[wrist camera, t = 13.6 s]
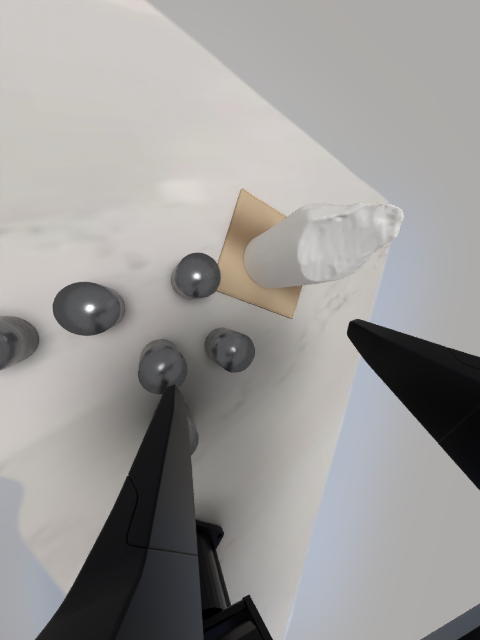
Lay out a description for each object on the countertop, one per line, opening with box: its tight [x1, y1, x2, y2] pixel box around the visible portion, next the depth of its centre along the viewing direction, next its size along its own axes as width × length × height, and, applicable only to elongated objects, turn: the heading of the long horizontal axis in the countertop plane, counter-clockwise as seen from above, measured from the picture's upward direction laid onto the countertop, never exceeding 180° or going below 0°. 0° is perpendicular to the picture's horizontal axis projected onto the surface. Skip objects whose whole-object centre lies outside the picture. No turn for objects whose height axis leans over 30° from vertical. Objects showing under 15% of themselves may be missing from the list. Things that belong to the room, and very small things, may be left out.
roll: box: [244, 203, 404, 289], centre depth 16 cm, size 6×12×6 cm
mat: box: [216, 188, 302, 319], centre depth 21 cm, size 10×10×1 cm
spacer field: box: [0, 253, 255, 455], centre depth 15 cm, size 16×14×4 cm
